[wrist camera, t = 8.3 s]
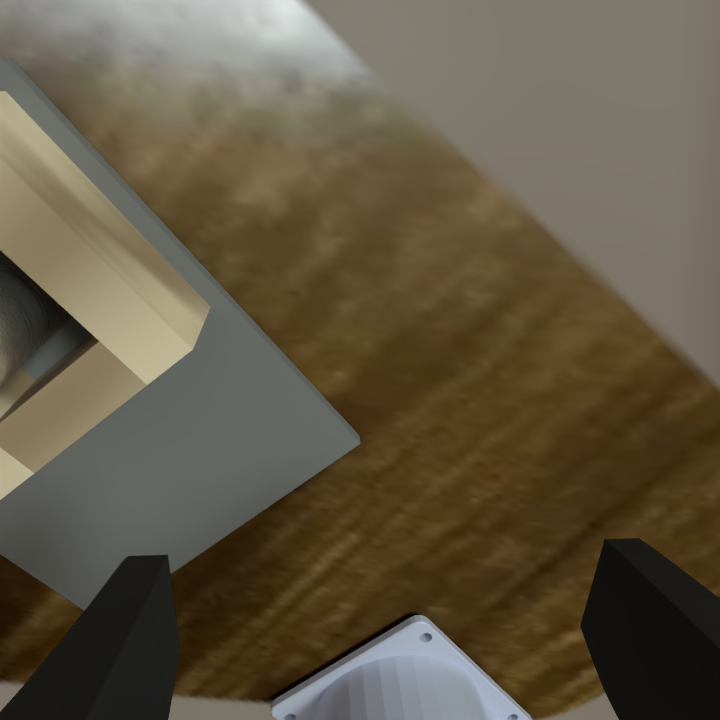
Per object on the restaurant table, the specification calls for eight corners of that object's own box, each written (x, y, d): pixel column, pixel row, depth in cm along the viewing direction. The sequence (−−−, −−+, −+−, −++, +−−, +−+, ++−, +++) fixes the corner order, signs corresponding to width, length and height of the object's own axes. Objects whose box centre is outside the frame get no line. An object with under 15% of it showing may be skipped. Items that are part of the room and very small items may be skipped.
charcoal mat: (359, 435, 19) (360, 443, 19) (105, 611, 22) (101, 622, 21) (11, 58, 14) (2, 57, 13) (-280, 346, 16) (-296, 354, 16)
